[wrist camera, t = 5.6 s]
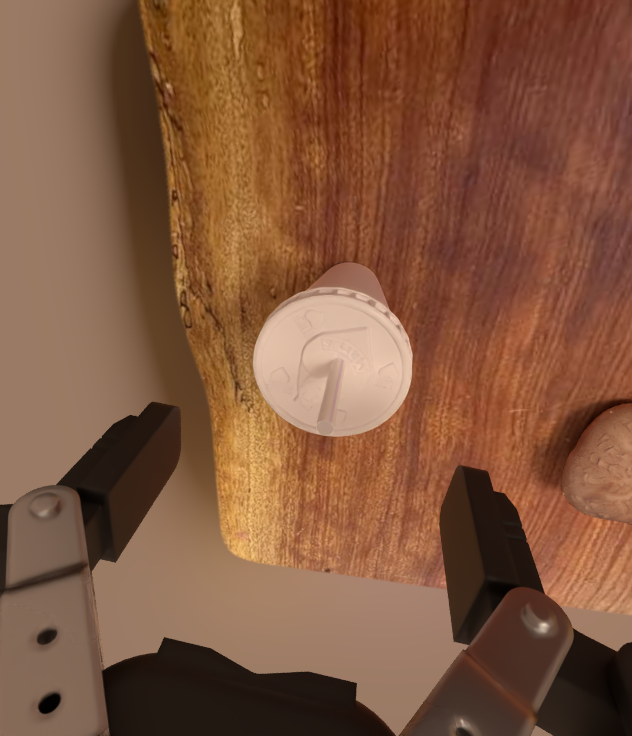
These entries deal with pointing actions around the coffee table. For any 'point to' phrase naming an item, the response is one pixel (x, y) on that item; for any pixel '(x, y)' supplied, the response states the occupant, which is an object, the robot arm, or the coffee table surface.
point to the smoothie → (334, 355)
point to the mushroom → (602, 467)
